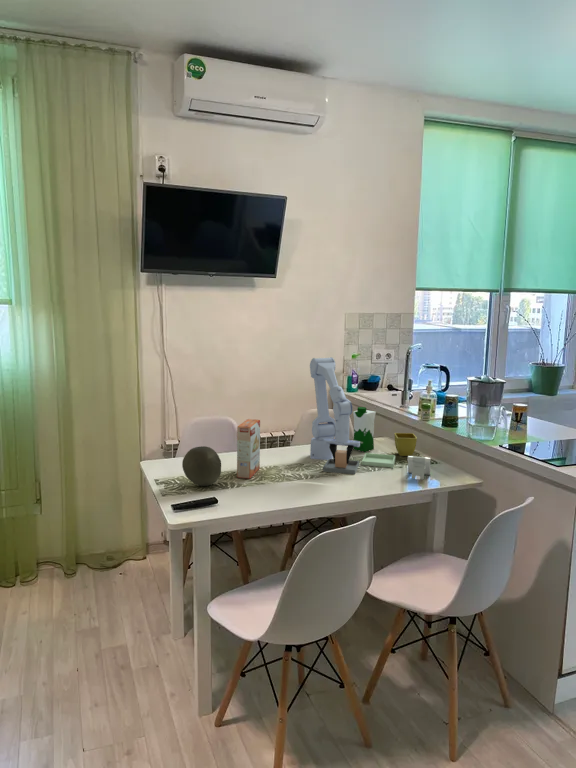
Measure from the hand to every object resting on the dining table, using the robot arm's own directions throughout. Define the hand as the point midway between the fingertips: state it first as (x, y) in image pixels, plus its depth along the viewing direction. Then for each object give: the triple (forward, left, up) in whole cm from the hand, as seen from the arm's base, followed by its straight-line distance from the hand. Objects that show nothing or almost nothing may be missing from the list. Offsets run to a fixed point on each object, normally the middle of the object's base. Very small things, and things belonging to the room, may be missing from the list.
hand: (341, 462), depth 237 cm
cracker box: (-35, -15, -3) cm, 38 cm away
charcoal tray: (0, 0, -3) cm, 3 cm away
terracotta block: (0, 0, -1) cm, 1 cm away
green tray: (+14, +13, -3) cm, 19 cm away
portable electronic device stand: (+31, 0, -3) cm, 31 cm away
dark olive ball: (-47, -34, -3) cm, 58 cm away
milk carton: (+5, +33, -3) cm, 33 cm away
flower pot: (+24, +29, -3) cm, 38 cm away
